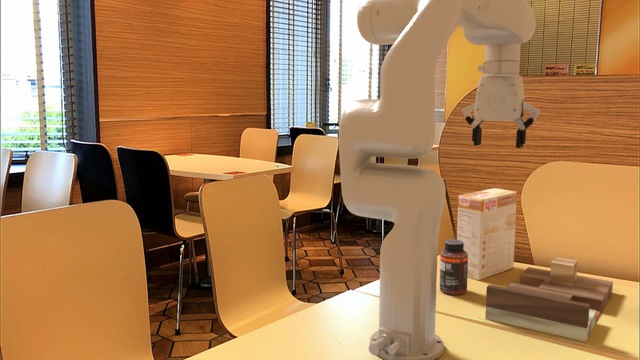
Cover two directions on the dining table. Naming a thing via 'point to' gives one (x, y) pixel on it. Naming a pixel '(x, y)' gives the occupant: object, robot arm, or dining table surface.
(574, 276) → the maple block
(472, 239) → the coffeecake box
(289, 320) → the dining table surface
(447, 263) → the supplement bottle
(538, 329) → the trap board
